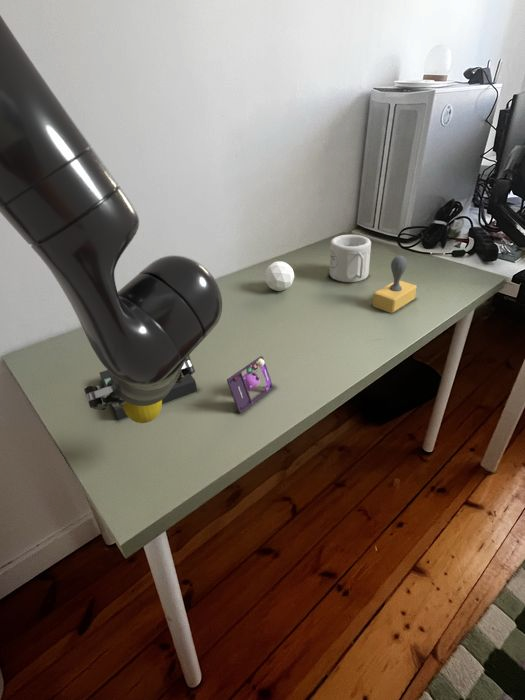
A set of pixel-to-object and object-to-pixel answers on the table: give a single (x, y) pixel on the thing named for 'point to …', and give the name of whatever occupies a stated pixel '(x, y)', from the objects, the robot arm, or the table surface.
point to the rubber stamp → (395, 289)
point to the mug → (349, 258)
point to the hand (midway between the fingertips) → (138, 393)
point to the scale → (175, 392)
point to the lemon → (142, 412)
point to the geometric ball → (279, 276)
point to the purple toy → (248, 384)
